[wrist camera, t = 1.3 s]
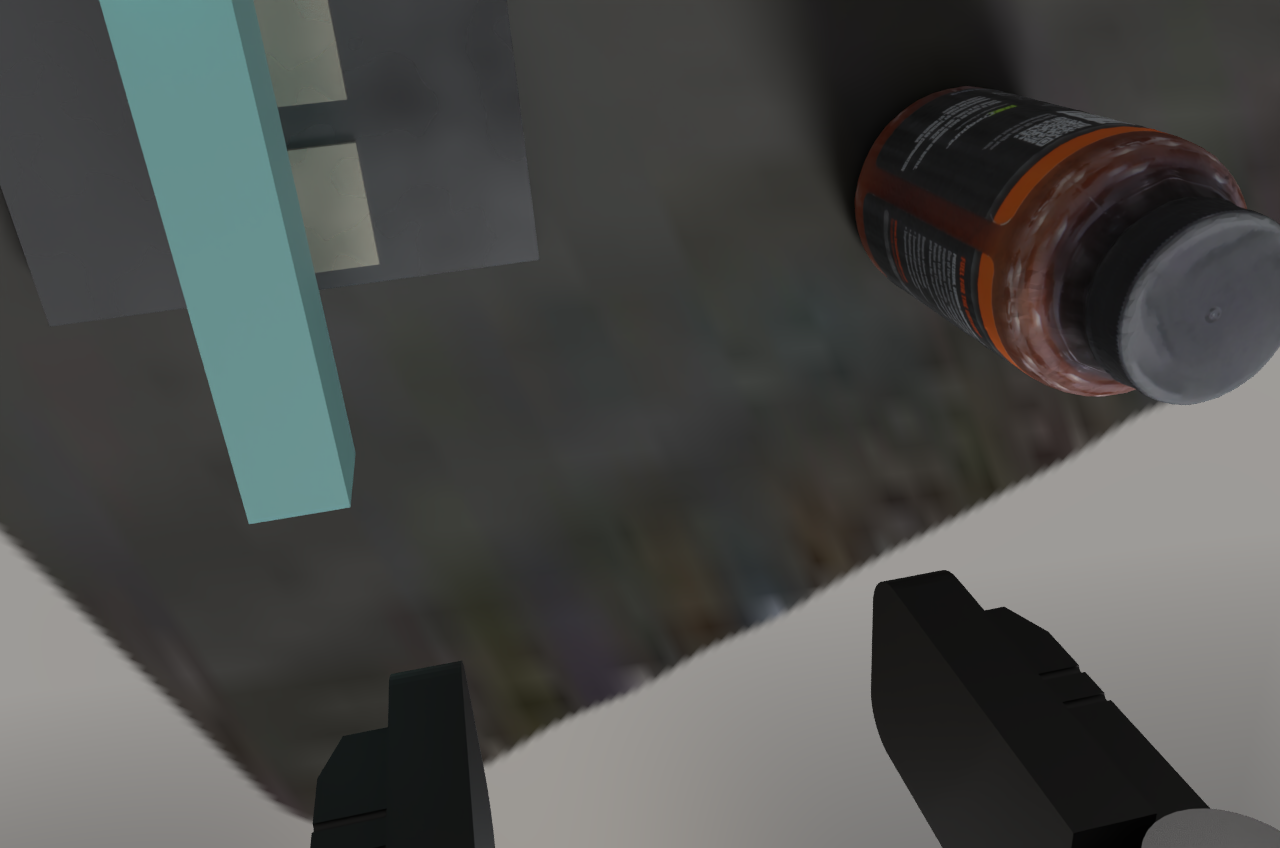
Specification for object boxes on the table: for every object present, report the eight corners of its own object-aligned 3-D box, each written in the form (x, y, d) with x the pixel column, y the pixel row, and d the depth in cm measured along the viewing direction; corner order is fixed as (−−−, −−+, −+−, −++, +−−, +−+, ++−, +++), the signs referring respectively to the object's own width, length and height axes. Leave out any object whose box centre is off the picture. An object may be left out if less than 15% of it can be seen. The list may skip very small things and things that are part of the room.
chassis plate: (465, -281, 23) (503, -411, 14) (533, 244, 28) (590, 386, 20) (-121, -246, 21) (-491, -369, 13) (67, 306, 27) (-100, 494, 18)
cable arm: (234, -368, 17) (167, -487, 12) (400, 445, 24) (399, 579, 19) (-28, -356, 16) (-209, -477, 12) (217, 475, 23) (166, 620, 18)
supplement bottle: (940, 324, 32) (1183, 504, 22) (805, 210, 30) (1009, 354, 20) (1078, 167, 31) (1403, 282, 21) (949, 34, 28) (1246, 92, 18)
